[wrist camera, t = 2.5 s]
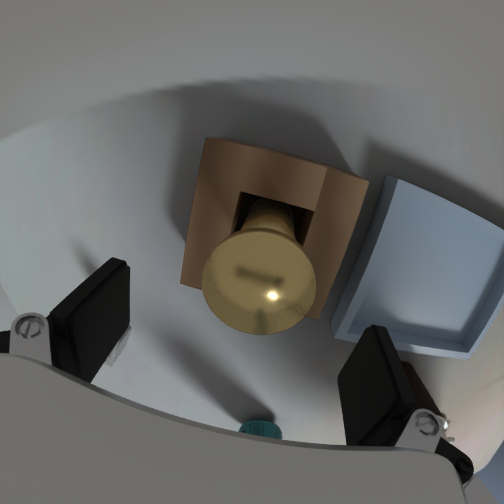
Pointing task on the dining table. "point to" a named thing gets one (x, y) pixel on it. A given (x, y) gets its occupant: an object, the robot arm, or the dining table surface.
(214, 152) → the socket block
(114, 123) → the dining table surface
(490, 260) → the tray
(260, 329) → the brass pin
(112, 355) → the lighter
